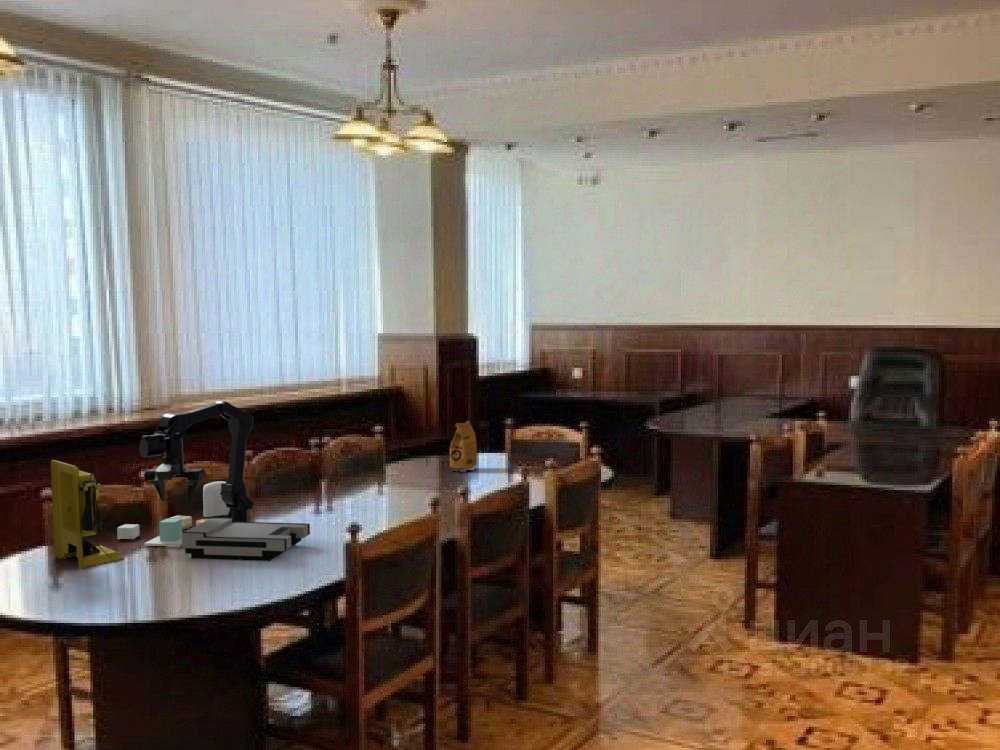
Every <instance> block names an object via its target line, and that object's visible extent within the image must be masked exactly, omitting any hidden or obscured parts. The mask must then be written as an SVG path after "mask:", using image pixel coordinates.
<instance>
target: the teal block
mask: <svg viewBox="0 0 1000 750" xmlns="http://www.w3.org/2000/svg"><path fill="white" fill-rule="evenodd" d="M158 525H159V527H158V528H159V536H160V541H176V540H178V539H180V538H182V533H183V530H182V519H169V518H165V519H163V520H160V521H159V522H158Z"/></svg>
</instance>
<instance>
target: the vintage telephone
mask: <svg viewBox="0 0 1000 750" xmlns="http://www.w3.org/2000/svg"><path fill="white" fill-rule="evenodd" d="M49 464H50V481H51V499H52V501H51V502H52V521H53V522H52V523H53V541H54V543H53V545H54V559H55V558H57V559H62V558H64V559H67V558H66V557H70V558H72V557H71V556H75V557H76V558H77V559H78V561H77V563H78V570H79V569H82V568H83V567H85V568H87V567H86V566H90V567H92V566H91V565H95V566H97V565H96V564H99V565H102V564H101V563H104V564H108V563H107V562H109V563H112V562H111V561H114V562H115V564H116V565H117V561H116V560H119V561H123V560H124V559H125V557H124V556H122V554H120V553H119V552H118V551H115V550H113V549H111V548H109V547H106V546H103V545H99V541H98V532H99V531H103V523H102V517H101V513H100V510H99V506H98V502H97V500H98V499H99V497H100V489H101V484H100V483H99V481H98V480H96V474H95V473H93V472H91V473H89V472H86V471H82V470H80V468H79V467H77V466H76V465H73V464H70V463H67V462H63V461H60V460H55V459H51V461H50V463H49ZM94 535H96V538H95V539H96V545H95V544H93V543H91V542H90V541H89V540H88V539H86V538H84V537H89V536H94ZM76 555H77V556H76ZM122 559H123V560H122ZM83 569H84V568H83ZM83 569H82V570H83Z"/></svg>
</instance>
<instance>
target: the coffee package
mask: <svg viewBox="0 0 1000 750" xmlns="http://www.w3.org/2000/svg"><path fill="white" fill-rule="evenodd" d="M454 427H456V430H455V434H454V436H453V437H452V439H451V441H450V445H449V468H450V467H452V468H469V467H473V466H475V465H477V464H478V463H477V461H478V460H477V458H478V457H477V450H478V448H477V439H476V438H477V437H476V432H475V431H474V429H473V426H472V425H471V422H470V420H467V421H466V422H464V423H463V422H459V423H458V422H456V423H455V424H454Z"/></svg>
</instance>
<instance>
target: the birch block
mask: <svg viewBox="0 0 1000 750" xmlns="http://www.w3.org/2000/svg"><path fill="white" fill-rule="evenodd" d="M192 517H193V516H189V515H187V516H186V515H175V516H171V517H169V518H168V519H182V529H187V528H189V527H192V528H193V519H192ZM187 530H188V529H187Z"/></svg>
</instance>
